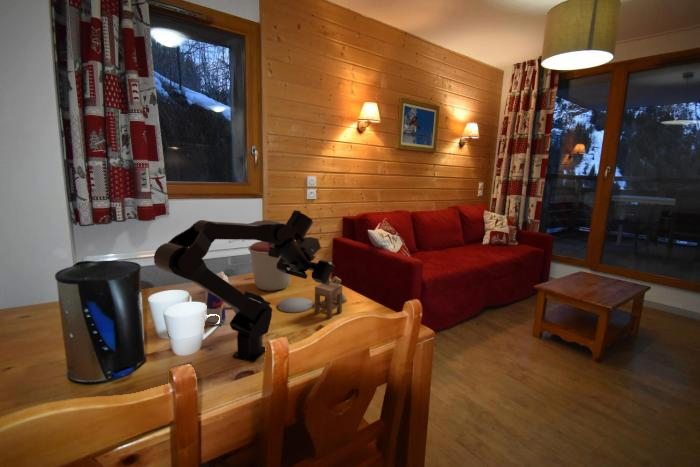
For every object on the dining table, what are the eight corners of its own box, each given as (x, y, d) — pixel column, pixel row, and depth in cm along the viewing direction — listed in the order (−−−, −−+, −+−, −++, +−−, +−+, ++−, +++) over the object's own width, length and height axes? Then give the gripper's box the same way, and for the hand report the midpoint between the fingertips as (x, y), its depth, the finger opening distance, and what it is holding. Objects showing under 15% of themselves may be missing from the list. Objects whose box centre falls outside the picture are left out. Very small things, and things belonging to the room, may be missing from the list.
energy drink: (219, 327, 100) (217, 288, 98) (203, 324, 101) (200, 287, 99) (229, 319, 106) (227, 282, 103) (213, 317, 107) (211, 281, 104)
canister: (245, 282, 139) (243, 232, 135) (287, 277, 147) (287, 230, 143) (255, 297, 123) (253, 241, 119) (301, 290, 132) (301, 238, 128)
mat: (304, 314, 110) (303, 313, 110) (271, 309, 113) (271, 308, 113) (318, 301, 121) (318, 300, 121) (288, 297, 125) (288, 295, 125)
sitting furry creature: (240, 308, 114) (238, 274, 112) (212, 312, 110) (211, 277, 108) (235, 298, 123) (234, 266, 120) (210, 302, 119) (208, 269, 116)
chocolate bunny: (327, 297, 125) (328, 272, 123) (348, 300, 123) (348, 274, 121) (322, 303, 120) (322, 276, 118) (343, 306, 118) (344, 278, 116)
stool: (329, 319, 107) (330, 290, 106) (314, 313, 111) (314, 286, 109) (341, 312, 113) (342, 285, 111) (327, 307, 116) (327, 281, 114)
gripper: (330, 234, 92) (352, 264, 103) (282, 226, 103) (307, 254, 114) (311, 268, 87) (336, 296, 98) (263, 256, 98) (291, 282, 109)
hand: (317, 280), depth 105 cm, fingers open, 9 cm apart
